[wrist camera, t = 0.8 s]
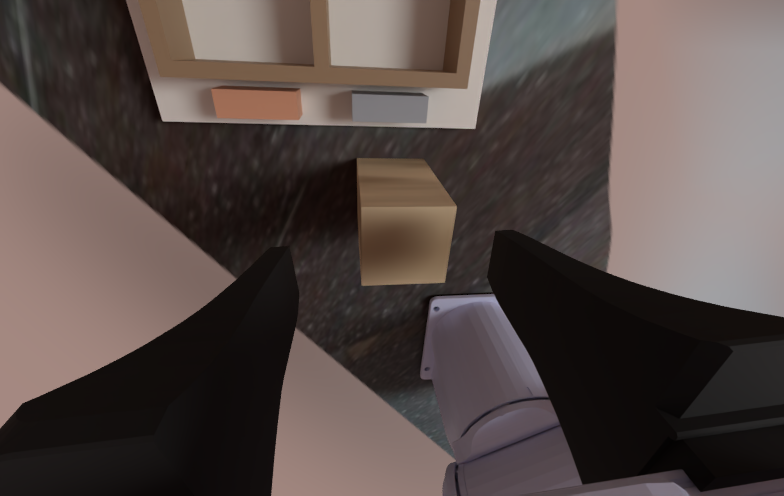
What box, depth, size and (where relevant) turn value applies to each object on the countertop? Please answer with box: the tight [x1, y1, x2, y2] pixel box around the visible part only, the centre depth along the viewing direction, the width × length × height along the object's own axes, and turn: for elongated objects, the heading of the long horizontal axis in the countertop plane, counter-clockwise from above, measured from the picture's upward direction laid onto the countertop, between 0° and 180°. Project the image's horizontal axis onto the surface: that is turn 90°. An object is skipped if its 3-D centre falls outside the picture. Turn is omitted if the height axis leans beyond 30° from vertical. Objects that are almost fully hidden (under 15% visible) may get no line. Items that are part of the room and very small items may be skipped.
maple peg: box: [357, 158, 457, 286], centre depth 17 cm, size 4×4×7 cm
